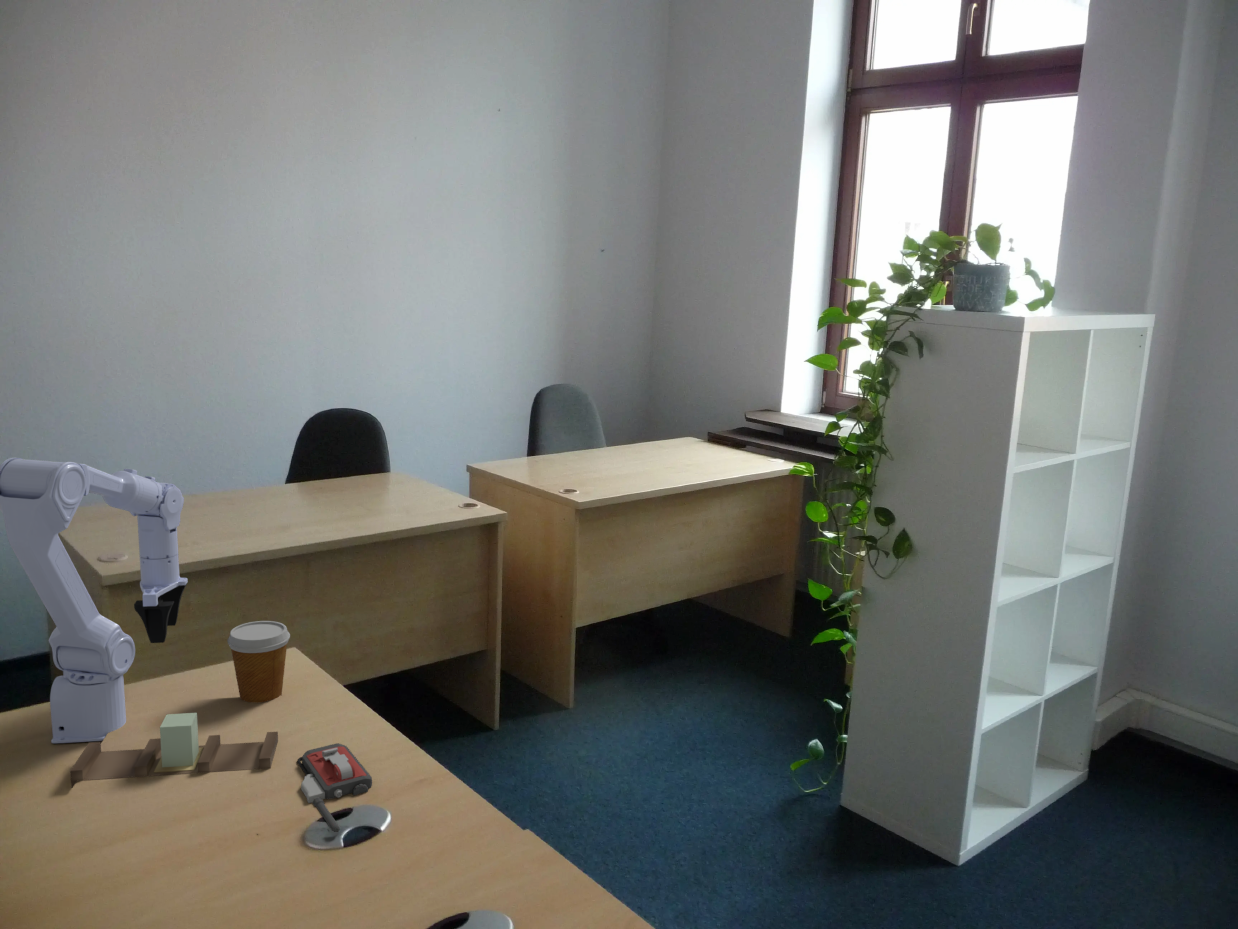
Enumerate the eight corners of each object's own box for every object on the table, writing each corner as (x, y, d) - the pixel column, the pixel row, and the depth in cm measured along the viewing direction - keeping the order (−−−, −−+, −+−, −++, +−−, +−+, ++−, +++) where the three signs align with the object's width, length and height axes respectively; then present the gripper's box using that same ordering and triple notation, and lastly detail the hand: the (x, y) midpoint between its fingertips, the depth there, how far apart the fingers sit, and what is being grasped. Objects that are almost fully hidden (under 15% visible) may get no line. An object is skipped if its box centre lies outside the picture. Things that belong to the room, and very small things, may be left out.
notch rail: (71, 788, 131) (70, 770, 130) (90, 758, 138) (88, 742, 138) (270, 774, 136) (270, 758, 135) (278, 747, 144) (277, 731, 143)
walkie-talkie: (282, 772, 137) (328, 843, 121) (282, 743, 136) (327, 811, 120) (343, 757, 142) (395, 823, 126) (343, 729, 141) (395, 792, 125)
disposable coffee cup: (228, 692, 161) (225, 623, 159) (288, 684, 165) (286, 617, 163) (232, 716, 153) (228, 644, 150) (295, 707, 157) (293, 637, 154)
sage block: (162, 767, 135) (159, 727, 133) (168, 753, 138) (166, 714, 137) (193, 765, 135) (191, 725, 134) (198, 751, 139) (196, 712, 138)
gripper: (175, 567, 152) (179, 649, 154) (194, 541, 166) (198, 617, 168) (126, 568, 150) (131, 651, 153) (150, 542, 164) (154, 618, 167)
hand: (163, 633), depth 160 cm, fingers open, 7 cm apart
